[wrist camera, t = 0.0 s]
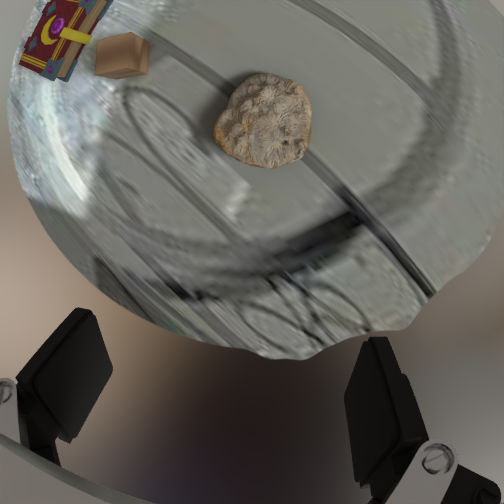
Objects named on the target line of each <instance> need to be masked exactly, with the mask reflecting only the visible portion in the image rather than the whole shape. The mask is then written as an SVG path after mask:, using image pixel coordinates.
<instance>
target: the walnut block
mask: <svg viewBox="0 0 504 504" xmlns="http://www.w3.org/2000/svg"><path fill="white" fill-rule="evenodd" d="M149 50H150V42H149V41H147V40H145V39H143V38H141V37H139V36H138V35H136V34H134V33H132V32H129V33H125V34H121V35H117V36H113V37H109V38H106V39H102V40H99V41H98V42H97V52H96V64H95V75H98V76H103V77H108V78H114V79H121V78H127V77H132V76H138V75H145V74H148V65H149Z"/></svg>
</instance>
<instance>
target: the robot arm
mask: <svg viewBox="0 0 504 504" xmlns="http://www.w3.org/2000/svg"><path fill="white" fill-rule="evenodd" d="M112 371H113V366H112V363H111V361H110V358H109V355H108V352H107V350H106V347H105V344H104V341H103V338H102V335H101V332H100V329H99V326H98V323H97V319H96V316H95V315H93V313H92V311H91V310H88V309H83V308H79V307H78V308H75V309H74V310H73V311H72V312H71V313H70V314H69V316H68V317H67V318H66V319H65V320H64V321H63V322H62V323H61V324H60V325H59V326H58V328H57V329H56V330H55V331H54V332H53V333H52V335H51V336H50V337H49V338H48V339H47V340H46V341H45V342H44V344H43V345H42V346H41V347H40V348H39V349H38V351H37V352H36V353H35V354H34V355H33V357H32V358H31V359H30V360H29V362H28V363H27V364H26V365H25V366H24V368H23V369H22V370H21V371H20V372H19V374H18V375H17V376H16V379H17V381H18V383H17V385H16V384H15V383H14V381H12V380H11V379H8V378H1V379H0V504H155V503H151V502H148V501H144V500H141V499H138V498H135V497H132V496H129V495H126V494H123V493H120V492H117V491H115V490H112V489H109V488H107V487H104V486H102V485H99V484H96V483H94V482H92V481H89V480H87V479H85V478H83V477H80V476H78V475H76V474H74V473H72V472H70V471H68V470H66V469H64V468H62V467H61V464H60V460H59V456H58V452H57V447H56V443H55V440H56V438H57V437H58V438H59V439H61V440H63V441H65V442H67V443H69V444H70V443H71V441H72V439H73V438H76V437H77V435H78V433H79V432H80V430H81V428H82V426H83V424H84V422H85V421H86V419H87V417H88V415H89V413H90V411H91V409H92V408H93V406H94V404H95V402H96V401H97V399H98V397H99V395H100V394H101V392H102V390H103V388H104V386H105V385H106V383H107V381H108V380H109V378H110V376H111V374H112ZM344 404H345V410H346V417H347V423H348V431H349V438H350V445H351V453H352V461H353V469H354V478H355V481H356V482H360V488H361V489H362V488H369V487H370V489H371V496H373V497H372V498H371V499H370V501H369V502H368V503H367V504H504V503H501V502H500V501H501V492H500V489H499V487H498V485H497V484H496V483H494V482H493V481H491V480H489V479H487V478H485V477H483V476H480V475H479V474H477V473H475V472H472V471H471V470H469V469H467V468H465V467H463V466H461V465H459V464H458V454H457V451H456V449H455V448H454V447H453V446H452V444H450V443H449V442H447V441H445V440H442V439H432V440H429V437H428V434H427V431H426V428H425V425H424V422H423V419H422V416H421V413H420V410H419V407H418V404H417V401H416V399H415V396H414V393H413V390H412V388H411V385H410V382H409V380H408V378H407V376H406V375H405V374H402V373H401V370H400V368H399V365H398V363H397V360H396V358H395V355H394V353H393V350H392V347H391V345H390V342H389V340H388V338H387V337H370V338H369V339H368V341H364V342H363V344H362V347H361V350H360V353H359V356H358V358H357V361H356V364H355V367H354V370H353V372H352V375H351V378H350V381H349V383H348V386H347V389H346V391H345V394H344Z"/></svg>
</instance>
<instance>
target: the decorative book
mask: <svg viewBox="0 0 504 504" xmlns="http://www.w3.org/2000/svg"><path fill="white" fill-rule="evenodd" d="M113 1H114V0H51V1H50V2H47V4H46V6H45V8H44V9H43V11H42V13H43V15H42V17H41V19H40V20H39V22H38V24H37V26H36V28H35V30H34V32H33V34H32V36H31V37H29V38H28V40H27V42H26V44H25V46H24V48H26V49H25V51H24V53H23V55H22V58H21V60H20V63H19V65H22V66H24V67H26V68H29V69H31V70H33V71H35V72H37V73H40V74H39V75H41V76H43V77H45V78H47V79H49V80H51V81H55V79H56V77H57V78H59V79H61V80H63V81H65V82H68V81H69V78H70V76H71V74H72V72H73V70H74V68H75V66H76V63H77V61H78V60H77V59H78V57H79V55H80V53H81V51H82V49H83V47H84V45H85V44H88V42H89V41H90V39H91V37H92V36H91V33H92V31H93V29H94V28H95V26H96V24H97V23H98V21H99V20H101V19H102V17H103V15H104V14H105V12H106V11H107V9H108V8H109V6H110V5H111V3H112V2H113Z"/></svg>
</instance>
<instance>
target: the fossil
mask: <svg viewBox="0 0 504 504" xmlns="http://www.w3.org/2000/svg"><path fill="white" fill-rule="evenodd" d="M311 115H312V108H311V105H310V103H309V98H308V96H307V95H306V94H305V92H304V90H303V88H302V87H301V86H300V85H298V84H297V83H296V82H294V81H292V80H289V79H283V78H279V77H277V76H274V75H271V74H269V73H267V74H261V73H258V74H257V75H256V74H255V75H252V76H250V77H248V78H247V79H246V80H245V81H244V82H243V83H241V84H240V85H239V86H238V87H237V88H236V90H235V91H234V92H233V93H232V95H231V97H230V99H229V103H228V106H227V107H226V109H225V110H224V111H223V112H222V113H221V114H220V115H219V117H218V119H217V120H216V122H215V125H214V135H213V136H214V138H215V142H216V143H218V144H219V146H220V147H221V148H222V150H223V151H224V152H226V153H227V154H228V155H230V156H233V157H234V158H235V159H236V160H238V161H239V162H243V163H246V164H249V165H252V166H257V167H261V168H277V167H280V166H282V165H284V164H290V163H293V162H295V161H296V160H298V159H301V157H303V156H304V155H303V154H304V153H305V152H306V150H307V149H308V146H309V140H310V135H311V120H312V119H311Z"/></svg>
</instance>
